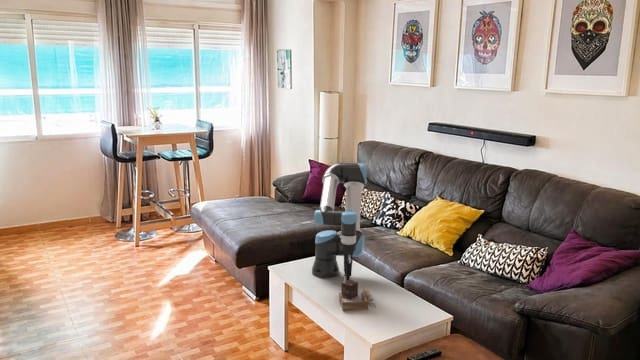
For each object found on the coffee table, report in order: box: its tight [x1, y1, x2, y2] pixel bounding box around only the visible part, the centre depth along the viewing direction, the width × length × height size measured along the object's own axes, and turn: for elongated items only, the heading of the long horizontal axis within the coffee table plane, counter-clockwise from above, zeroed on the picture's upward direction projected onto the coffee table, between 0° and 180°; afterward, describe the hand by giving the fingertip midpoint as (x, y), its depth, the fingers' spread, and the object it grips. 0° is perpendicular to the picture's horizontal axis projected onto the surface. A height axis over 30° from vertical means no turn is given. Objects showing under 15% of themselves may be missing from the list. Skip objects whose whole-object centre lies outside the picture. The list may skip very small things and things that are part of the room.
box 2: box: [338, 291, 369, 312], centre depth 246 cm, size 12×12×4 cm
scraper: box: [363, 287, 376, 308], centre depth 252 cm, size 17×2×2 cm, turn 7°
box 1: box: [340, 278, 359, 300], centre depth 255 cm, size 6×6×7 cm
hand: (347, 287), depth 262 cm, fingers closed
